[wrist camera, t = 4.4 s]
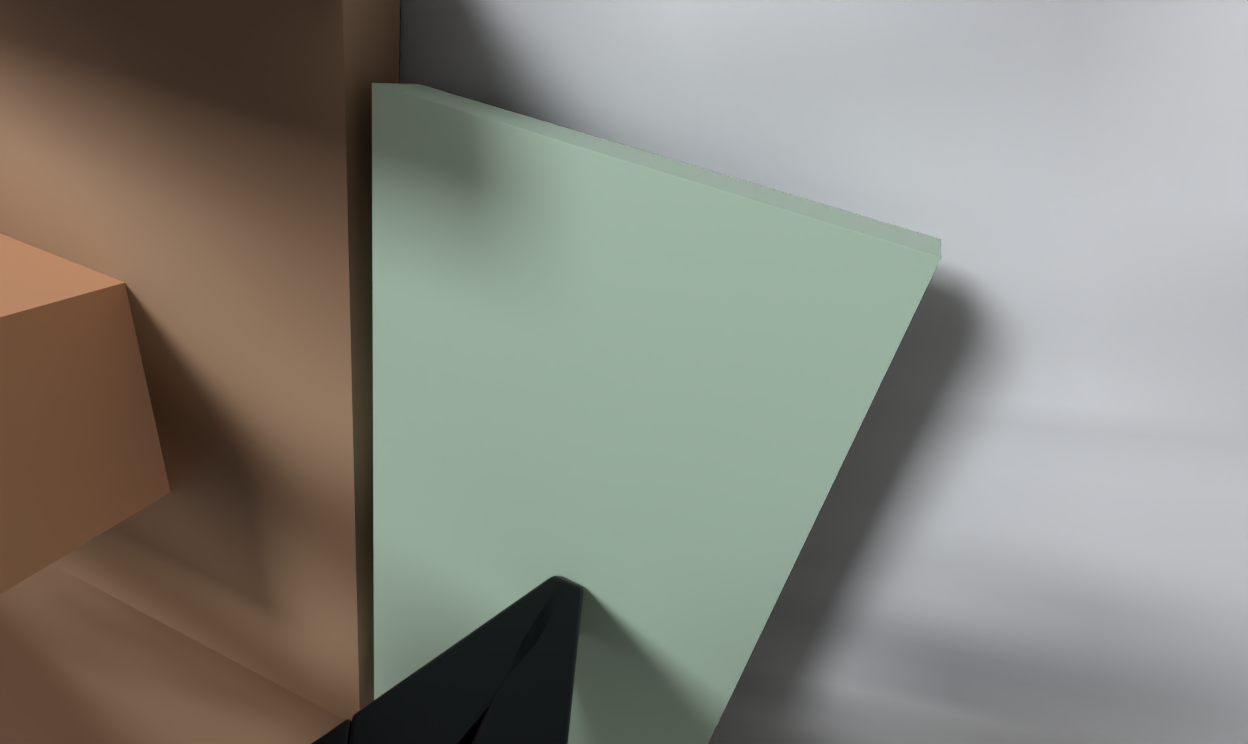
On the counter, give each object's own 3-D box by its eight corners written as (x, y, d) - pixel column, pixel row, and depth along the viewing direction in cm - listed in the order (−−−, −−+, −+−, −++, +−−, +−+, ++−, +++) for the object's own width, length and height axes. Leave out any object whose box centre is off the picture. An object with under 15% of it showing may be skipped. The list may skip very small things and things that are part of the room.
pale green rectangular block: (400, 682, 14) (652, 850, 12) (374, 711, 13) (636, 893, 12) (419, 83, 8) (940, 239, 6) (371, 83, 7) (940, 257, 5)
